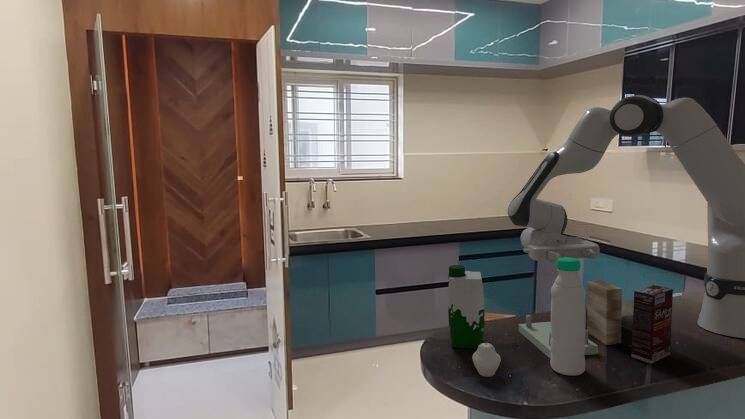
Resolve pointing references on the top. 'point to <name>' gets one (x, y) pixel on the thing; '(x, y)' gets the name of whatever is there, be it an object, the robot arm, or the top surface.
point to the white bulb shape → (486, 360)
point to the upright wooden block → (604, 311)
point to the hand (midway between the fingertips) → (577, 256)
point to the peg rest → (549, 336)
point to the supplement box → (652, 323)
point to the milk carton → (465, 307)
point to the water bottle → (568, 319)
